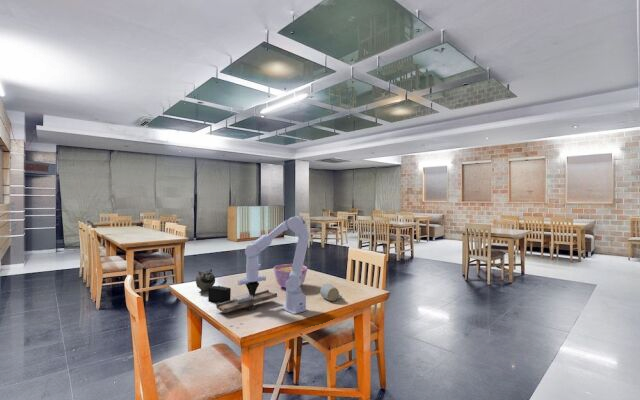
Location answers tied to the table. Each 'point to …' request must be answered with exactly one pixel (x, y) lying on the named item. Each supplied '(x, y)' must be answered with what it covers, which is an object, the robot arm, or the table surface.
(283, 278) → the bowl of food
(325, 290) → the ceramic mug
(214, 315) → the table surface
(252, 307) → the pivot stand
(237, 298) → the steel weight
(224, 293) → the digital camera
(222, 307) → the beam
